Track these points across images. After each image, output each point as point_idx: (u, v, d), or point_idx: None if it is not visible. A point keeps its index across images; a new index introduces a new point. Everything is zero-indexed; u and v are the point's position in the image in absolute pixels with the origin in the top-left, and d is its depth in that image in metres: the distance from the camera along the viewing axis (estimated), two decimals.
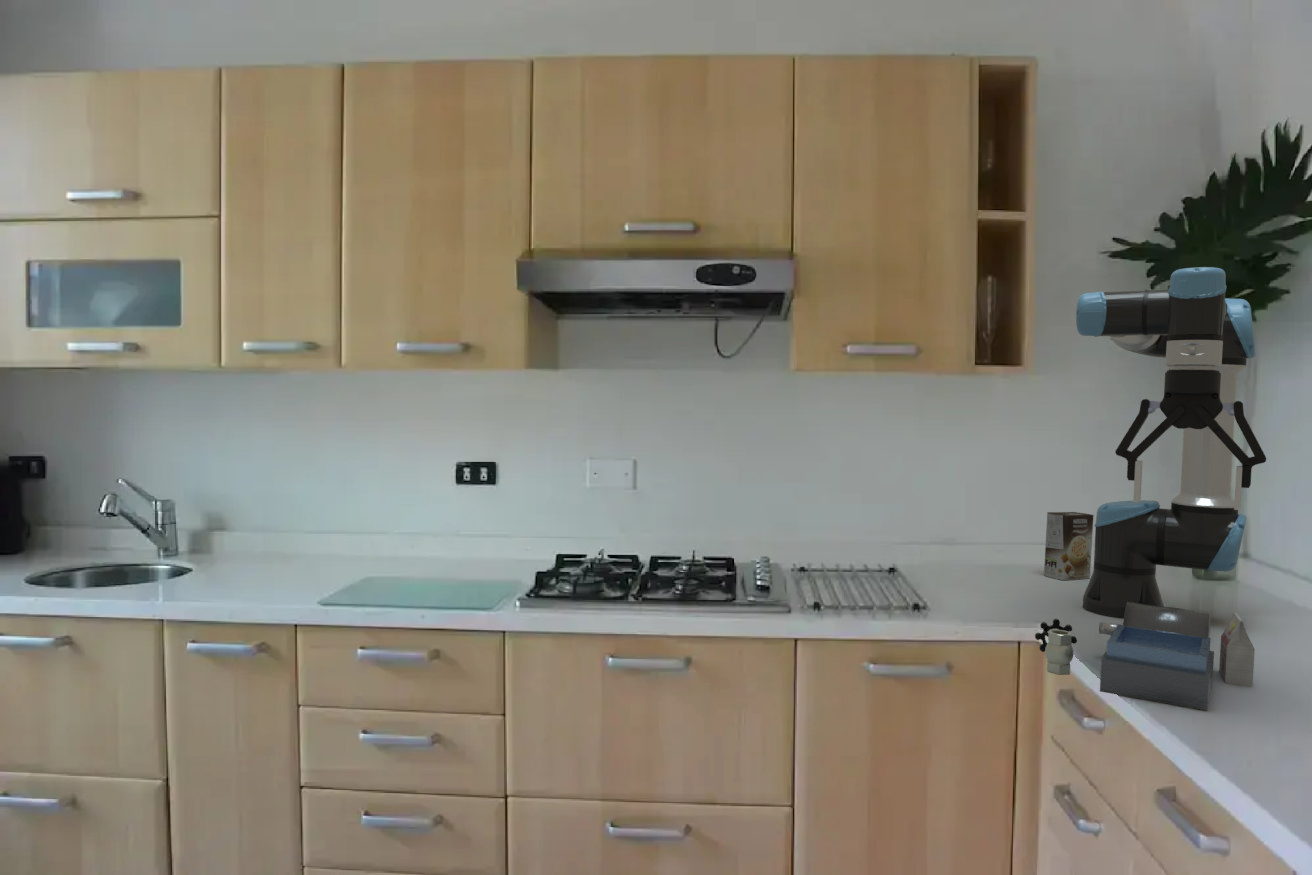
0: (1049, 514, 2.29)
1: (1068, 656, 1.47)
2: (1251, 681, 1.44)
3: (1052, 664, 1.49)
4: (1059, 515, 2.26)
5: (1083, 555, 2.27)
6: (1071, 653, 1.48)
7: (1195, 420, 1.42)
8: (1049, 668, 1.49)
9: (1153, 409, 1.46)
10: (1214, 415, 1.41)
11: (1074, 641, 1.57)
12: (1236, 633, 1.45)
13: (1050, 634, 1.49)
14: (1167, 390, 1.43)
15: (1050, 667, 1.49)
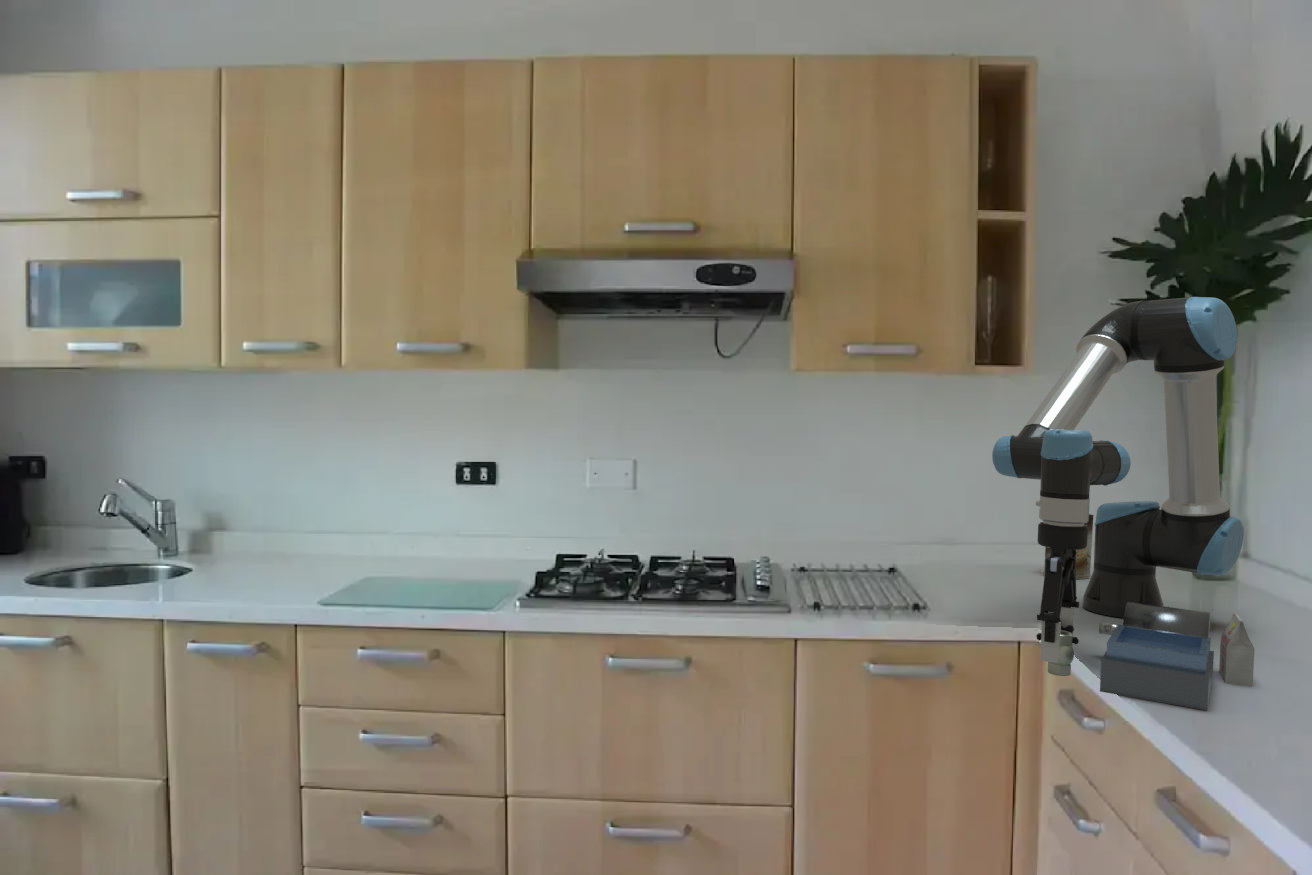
0: None
1: (1069, 656, 1.47)
2: (1251, 681, 1.44)
3: (1052, 664, 1.48)
4: None
5: (1083, 555, 2.27)
6: (1072, 654, 1.47)
7: None
8: (1049, 668, 1.48)
9: None
10: None
11: (1076, 642, 1.56)
12: (1236, 633, 1.45)
13: None
14: None
15: (1050, 667, 1.48)
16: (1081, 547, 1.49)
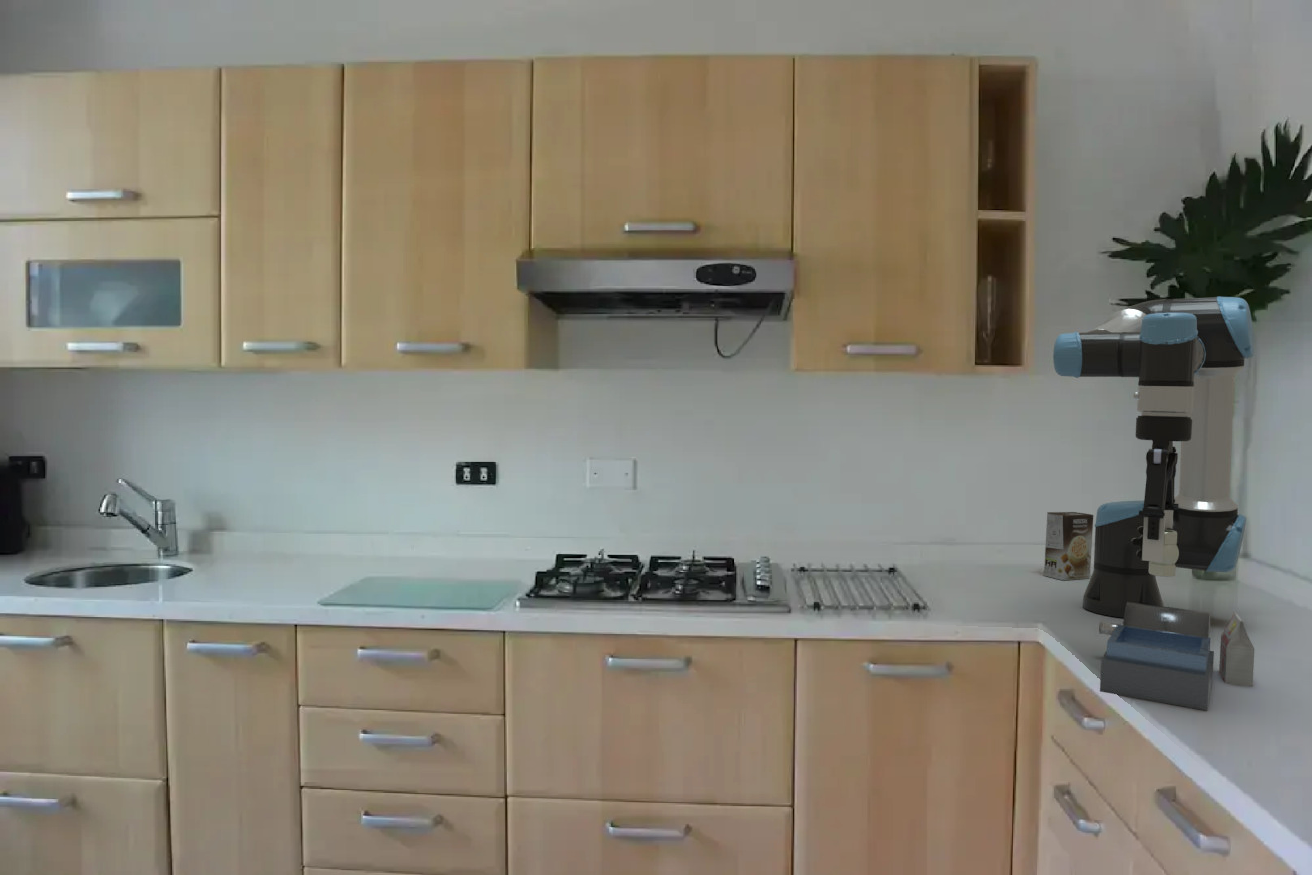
0: (1049, 514, 2.29)
1: (1174, 555, 1.36)
2: (1251, 681, 1.44)
3: (1155, 565, 1.37)
4: (1059, 515, 2.26)
5: (1083, 555, 2.27)
6: (1177, 552, 1.36)
7: None
8: (1152, 569, 1.37)
9: None
10: None
11: None
12: (1236, 633, 1.45)
13: None
14: None
15: (1153, 568, 1.37)
16: (1186, 438, 1.38)
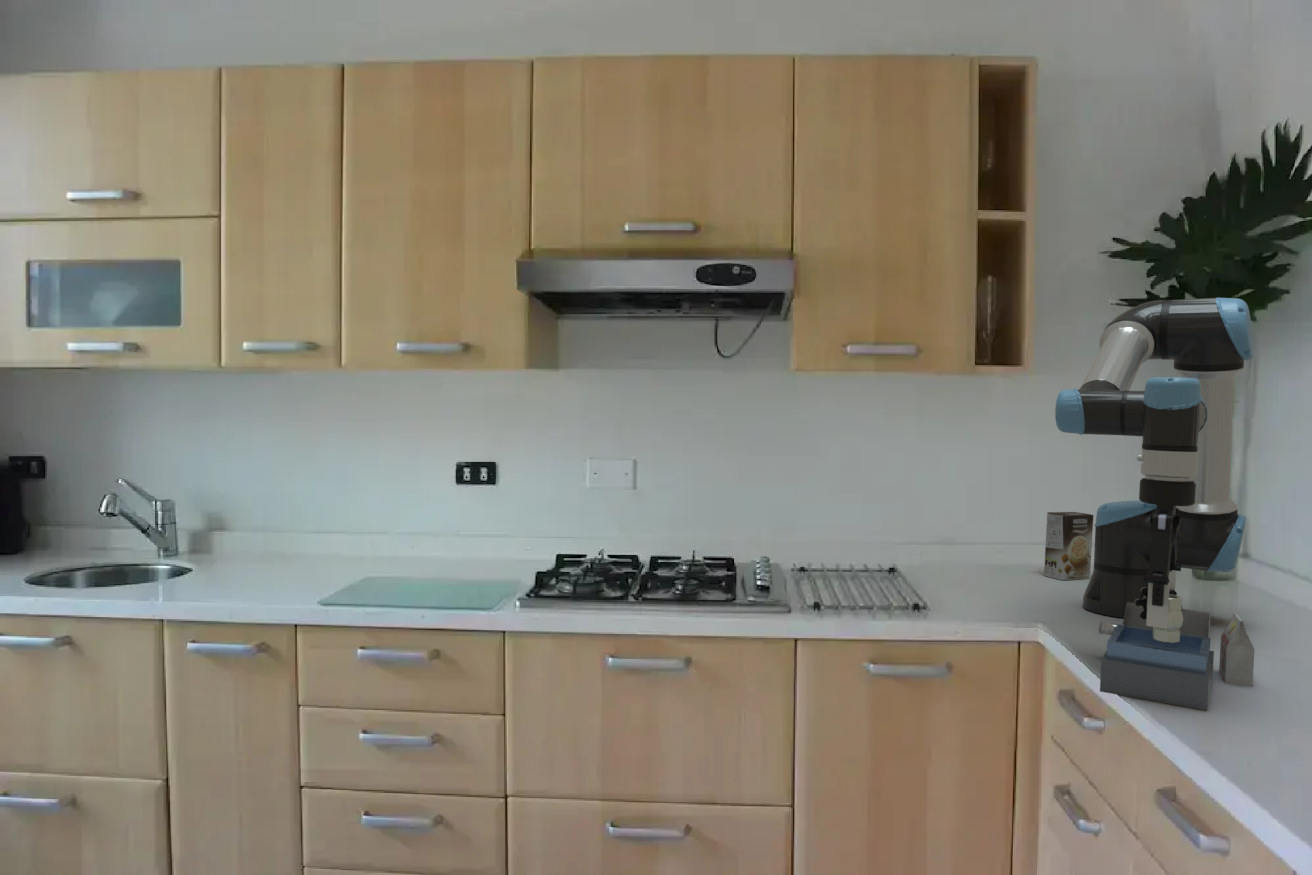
0: (1049, 514, 2.29)
1: (1178, 621, 1.36)
2: (1251, 681, 1.44)
3: (1160, 630, 1.37)
4: (1059, 515, 2.26)
5: (1083, 555, 2.27)
6: (1181, 618, 1.36)
7: None
8: (1156, 635, 1.37)
9: None
10: None
11: None
12: (1236, 633, 1.45)
13: None
14: None
15: (1157, 634, 1.37)
16: (1190, 503, 1.38)
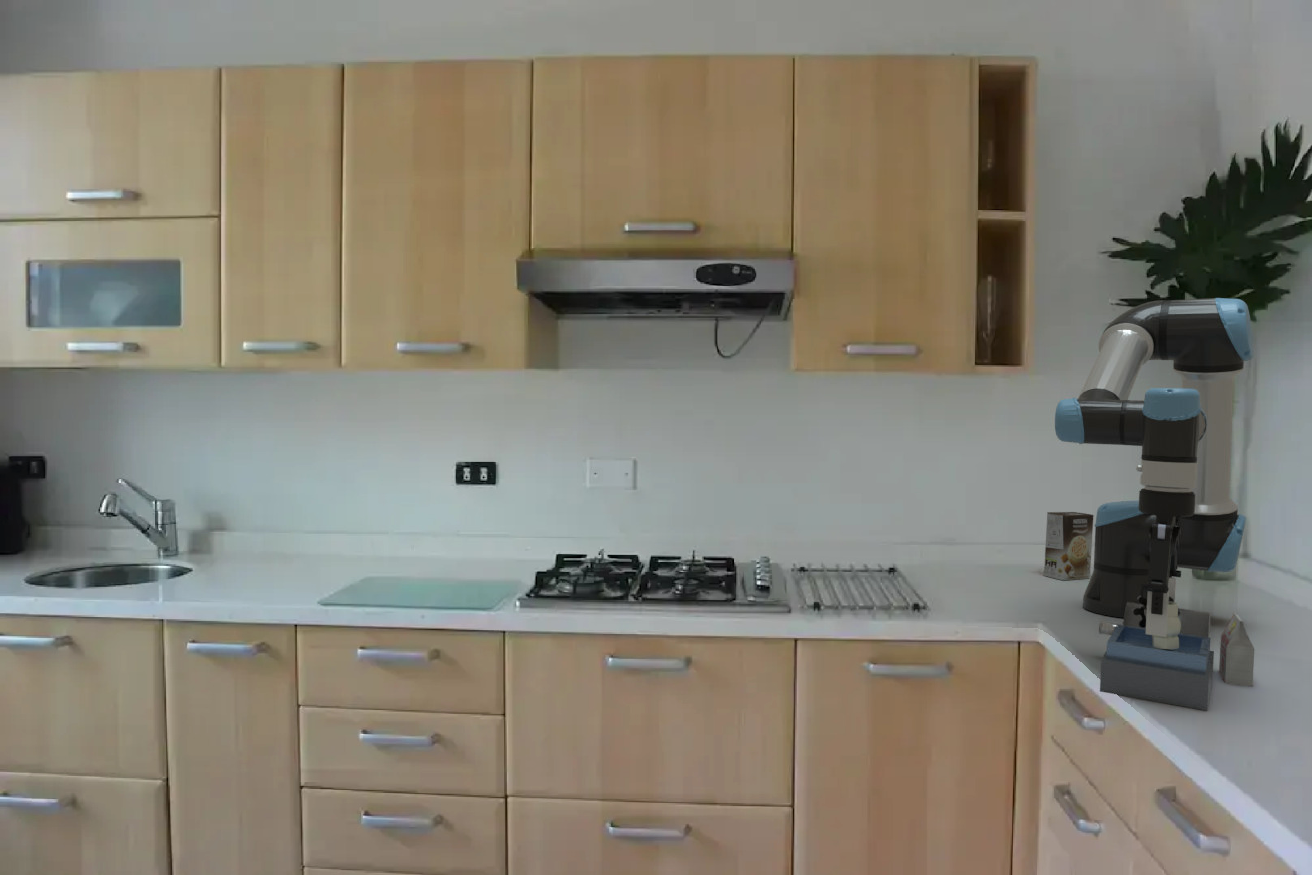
0: (1049, 514, 2.29)
1: (1176, 628, 1.36)
2: (1251, 681, 1.44)
3: (1158, 638, 1.37)
4: (1059, 515, 2.26)
5: (1083, 555, 2.27)
6: (1179, 624, 1.36)
7: None
8: (1155, 642, 1.37)
9: None
10: None
11: None
12: (1236, 633, 1.45)
13: None
14: None
15: (1156, 641, 1.37)
16: (1189, 514, 1.38)
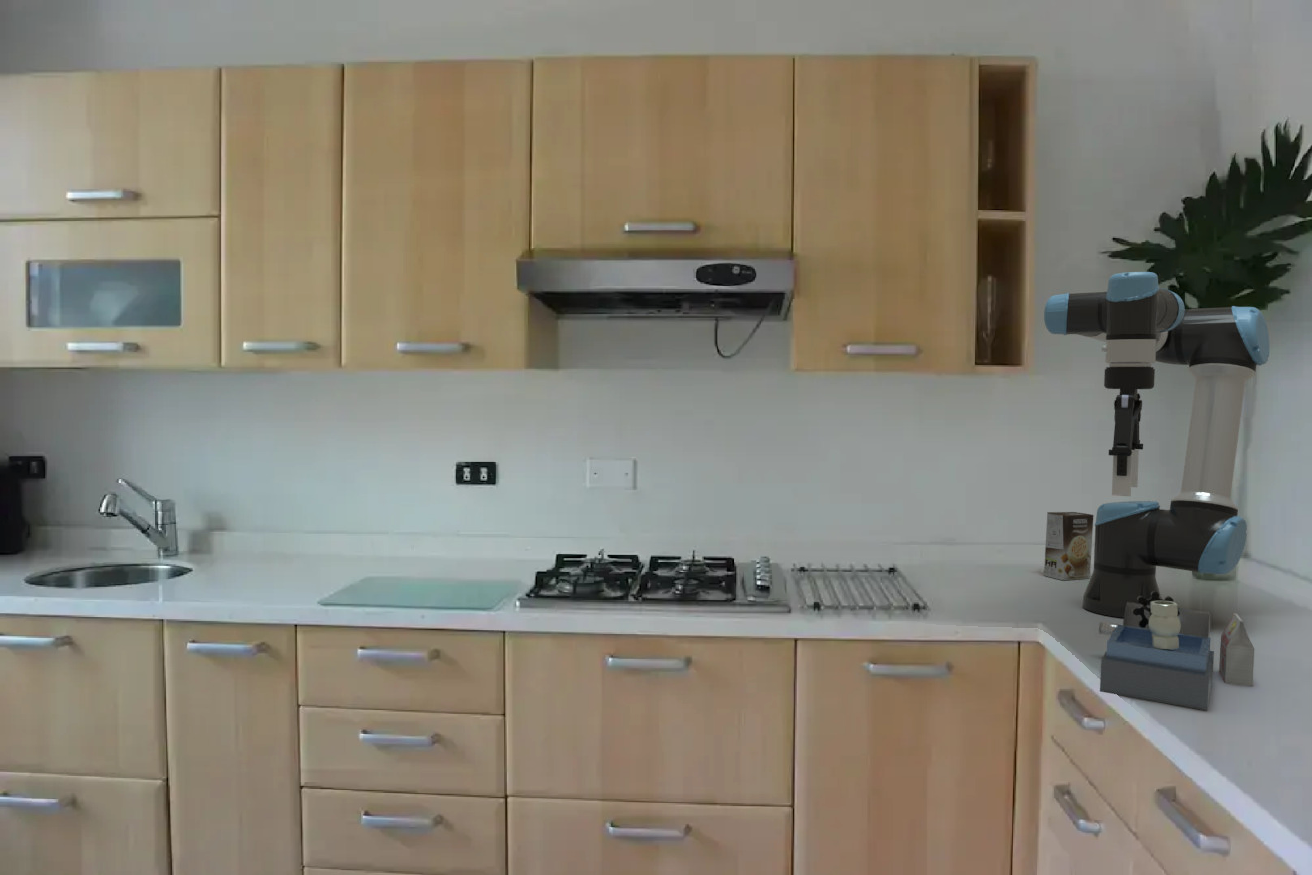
0: (1049, 514, 2.29)
1: (1176, 628, 1.36)
2: (1251, 681, 1.44)
3: (1158, 638, 1.37)
4: (1059, 515, 2.26)
5: (1083, 555, 2.27)
6: (1178, 624, 1.36)
7: None
8: (1155, 642, 1.37)
9: None
10: None
11: None
12: (1236, 633, 1.45)
13: (1153, 605, 1.37)
14: None
15: (1156, 641, 1.37)
16: (1149, 386, 1.52)
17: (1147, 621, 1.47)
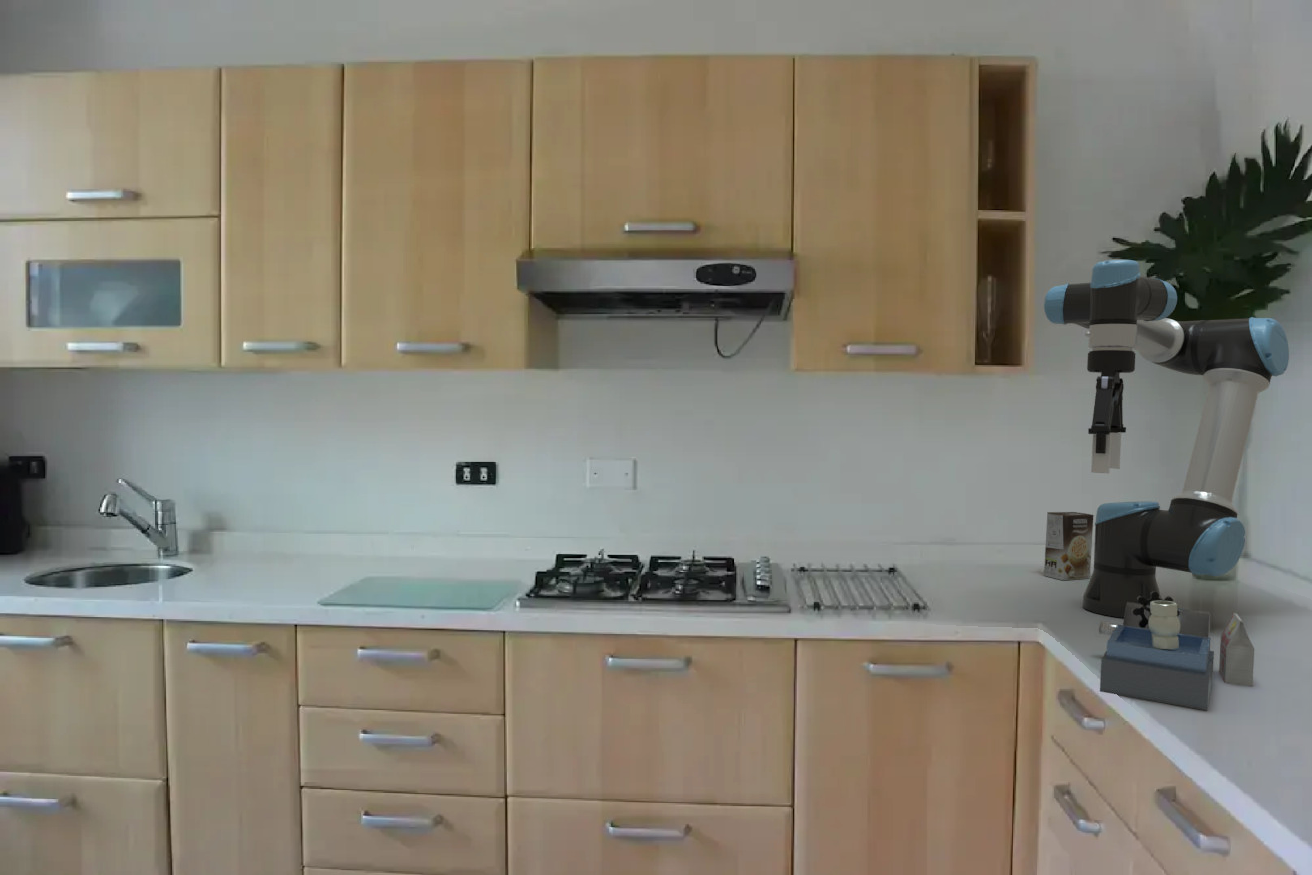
0: (1049, 514, 2.29)
1: (1175, 627, 1.36)
2: (1251, 681, 1.44)
3: (1158, 638, 1.37)
4: (1059, 515, 2.26)
5: (1083, 555, 2.27)
6: (1178, 624, 1.36)
7: None
8: (1155, 642, 1.37)
9: None
10: None
11: (1177, 614, 1.45)
12: (1236, 633, 1.45)
13: (1153, 605, 1.37)
14: None
15: (1156, 641, 1.37)
16: (1129, 369, 1.59)
17: (1147, 621, 1.47)
